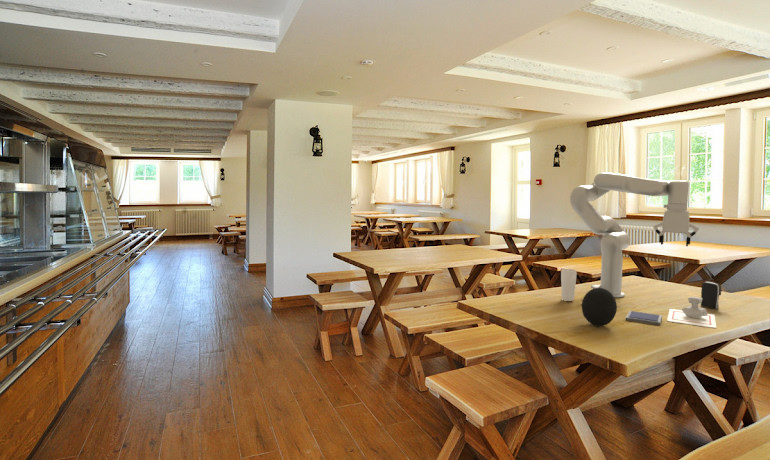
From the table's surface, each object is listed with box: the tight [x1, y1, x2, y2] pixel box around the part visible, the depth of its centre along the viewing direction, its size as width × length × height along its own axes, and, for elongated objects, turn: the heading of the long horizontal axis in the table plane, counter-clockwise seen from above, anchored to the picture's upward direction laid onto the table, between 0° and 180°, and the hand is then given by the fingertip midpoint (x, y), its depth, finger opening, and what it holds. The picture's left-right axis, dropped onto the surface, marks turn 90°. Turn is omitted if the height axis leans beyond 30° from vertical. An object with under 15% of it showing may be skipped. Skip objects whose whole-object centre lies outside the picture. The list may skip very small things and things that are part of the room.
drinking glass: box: [560, 268, 577, 302], centre depth 212 cm, size 7×7×15 cm
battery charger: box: [700, 281, 722, 310], centre depth 201 cm, size 7×4×11 cm, turn 21°
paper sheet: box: [666, 308, 717, 329], centre depth 184 cm, size 16×22×1 cm
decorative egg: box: [581, 288, 618, 327], centre depth 174 cm, size 12×12×15 cm
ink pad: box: [625, 310, 663, 326], centre depth 183 cm, size 12×12×2 cm
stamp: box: [681, 295, 708, 319], centre depth 184 cm, size 9×7×8 cm
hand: (674, 245), depth 202 cm, fingers open, 9 cm apart
